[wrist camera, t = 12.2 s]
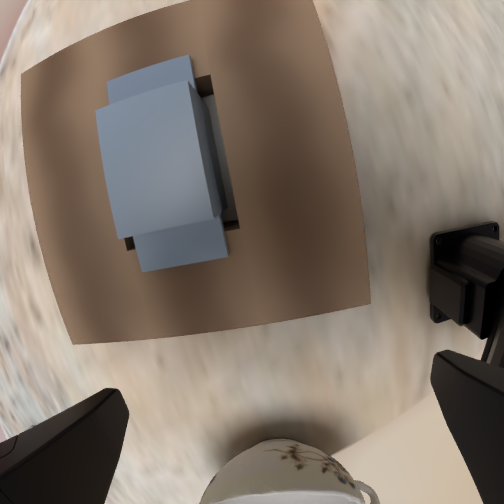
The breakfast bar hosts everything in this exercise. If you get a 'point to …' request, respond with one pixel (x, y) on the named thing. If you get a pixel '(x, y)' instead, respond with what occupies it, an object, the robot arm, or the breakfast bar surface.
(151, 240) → the block
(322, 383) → the breakfast bar surface
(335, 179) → the brown rectangular block
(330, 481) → the teacup
